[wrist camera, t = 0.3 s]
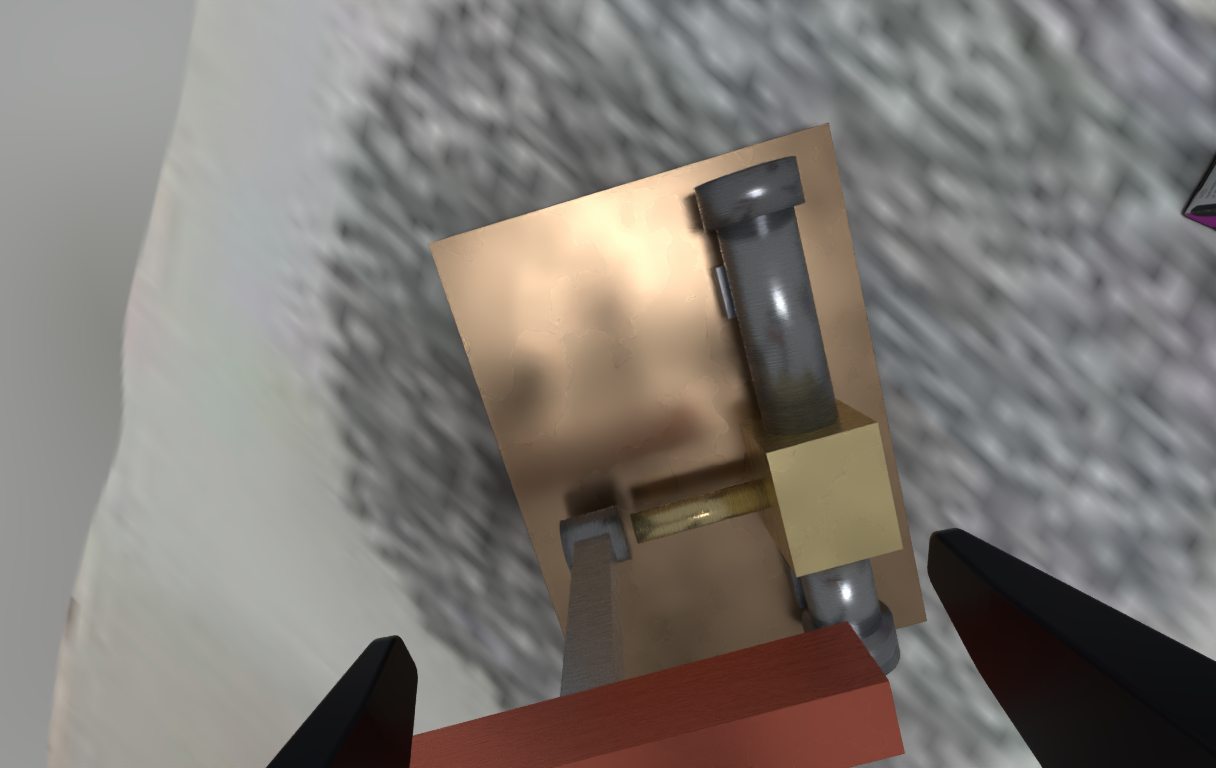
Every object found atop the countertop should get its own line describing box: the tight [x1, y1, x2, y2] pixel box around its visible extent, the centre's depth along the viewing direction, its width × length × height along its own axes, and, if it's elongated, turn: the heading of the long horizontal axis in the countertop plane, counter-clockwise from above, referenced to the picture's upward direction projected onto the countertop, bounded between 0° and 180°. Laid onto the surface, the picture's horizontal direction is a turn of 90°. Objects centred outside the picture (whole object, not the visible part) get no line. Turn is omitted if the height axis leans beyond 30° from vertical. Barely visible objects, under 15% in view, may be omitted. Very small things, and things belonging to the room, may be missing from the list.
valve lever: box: [410, 505, 905, 768], centre depth 18 cm, size 2×13×13 cm, turn 106°
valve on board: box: [429, 123, 927, 680], centre depth 23 cm, size 22×16×5 cm
